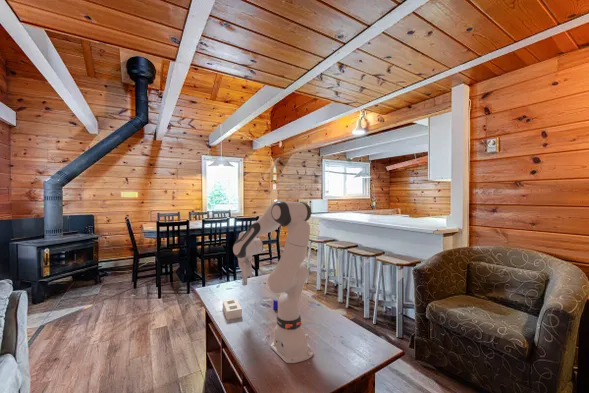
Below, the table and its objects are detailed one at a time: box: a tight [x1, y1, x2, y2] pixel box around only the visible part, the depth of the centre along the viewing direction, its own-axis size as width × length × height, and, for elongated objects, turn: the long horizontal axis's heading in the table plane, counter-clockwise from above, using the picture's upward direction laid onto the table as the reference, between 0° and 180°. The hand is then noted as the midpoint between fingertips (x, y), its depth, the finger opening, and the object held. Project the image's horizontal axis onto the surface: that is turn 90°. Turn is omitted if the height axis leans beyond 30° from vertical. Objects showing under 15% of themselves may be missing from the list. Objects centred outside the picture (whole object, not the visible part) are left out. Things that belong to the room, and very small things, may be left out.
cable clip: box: [272, 299, 278, 311], centre depth 170 cm, size 12×4×6 cm, turn 143°
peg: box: [241, 271, 248, 286], centre depth 159 cm, size 3×3×10 cm
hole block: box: [222, 298, 243, 321], centre depth 161 cm, size 16×9×5 cm, turn 24°
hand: (244, 278), depth 159 cm, fingers closed on peg, 3 cm apart
